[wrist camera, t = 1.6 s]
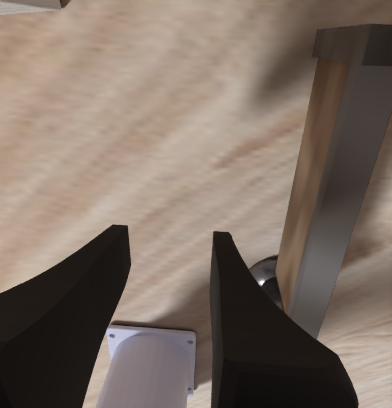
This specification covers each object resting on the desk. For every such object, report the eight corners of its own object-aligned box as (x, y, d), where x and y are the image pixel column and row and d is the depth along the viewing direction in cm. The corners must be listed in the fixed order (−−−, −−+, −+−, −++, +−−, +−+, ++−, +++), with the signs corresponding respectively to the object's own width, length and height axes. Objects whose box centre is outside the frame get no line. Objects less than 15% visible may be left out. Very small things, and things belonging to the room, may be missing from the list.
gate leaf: (292, 269, 22) (315, 343, 17) (270, 267, 22) (286, 340, 17) (348, 30, 15) (420, 25, 10) (315, 29, 15) (369, 23, 10)
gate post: (301, 308, 25) (330, 405, 18) (240, 303, 25) (247, 397, 19) (315, 260, 23) (354, 351, 16) (247, 255, 23) (258, 343, 16)
